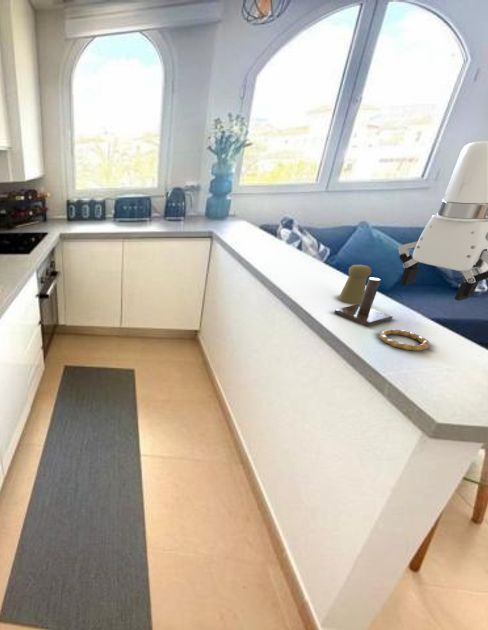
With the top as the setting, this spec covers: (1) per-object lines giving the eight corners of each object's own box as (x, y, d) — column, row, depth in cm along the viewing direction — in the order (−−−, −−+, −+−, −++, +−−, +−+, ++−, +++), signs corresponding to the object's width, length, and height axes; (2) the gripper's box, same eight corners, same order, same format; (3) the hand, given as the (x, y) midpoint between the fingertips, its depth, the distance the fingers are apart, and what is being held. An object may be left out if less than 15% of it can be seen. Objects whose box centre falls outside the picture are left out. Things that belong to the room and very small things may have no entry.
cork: (367, 303, 103) (379, 268, 98) (345, 303, 104) (356, 269, 99) (355, 296, 108) (366, 262, 103) (334, 296, 109) (344, 262, 104)
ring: (395, 330, 89) (396, 326, 88) (437, 346, 81) (439, 342, 80) (370, 337, 86) (371, 333, 86) (411, 354, 79) (413, 350, 78)
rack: (357, 307, 101) (369, 271, 96) (391, 319, 93) (406, 281, 89) (334, 313, 99) (345, 276, 94) (367, 326, 91) (381, 287, 86)
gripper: (544, 214, 61) (498, 302, 68) (426, 203, 76) (399, 276, 83) (516, 219, 59) (473, 309, 66) (401, 207, 74) (377, 282, 81)
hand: (432, 291), depth 75 cm, fingers open, 9 cm apart
